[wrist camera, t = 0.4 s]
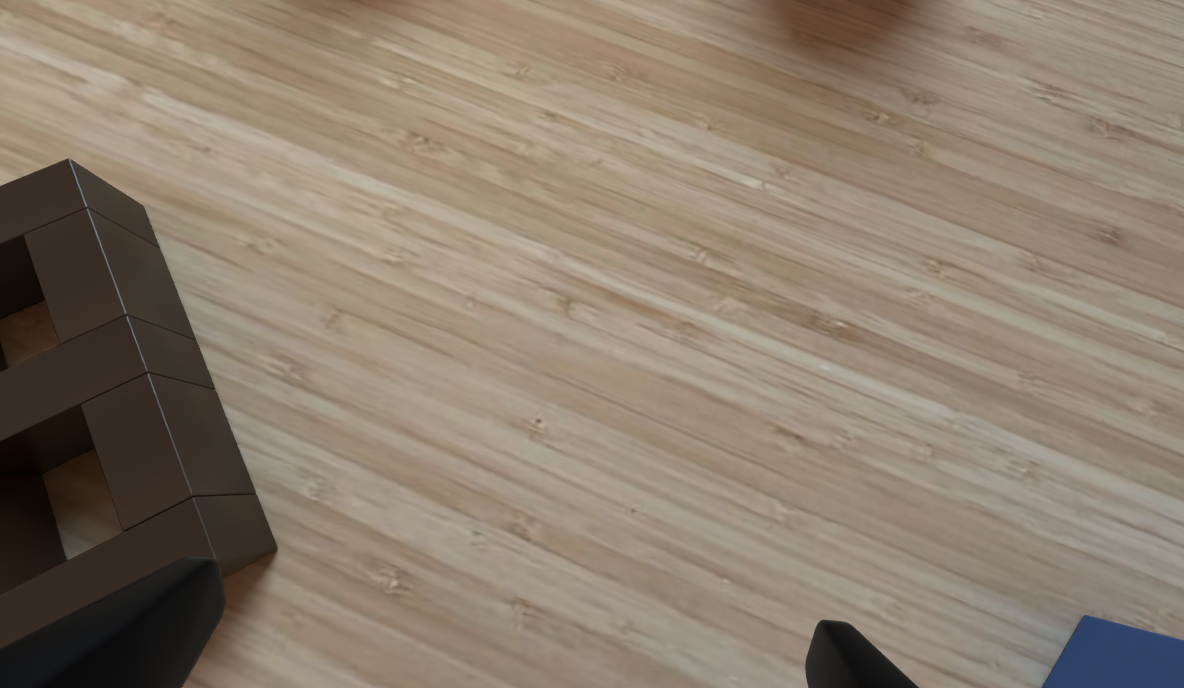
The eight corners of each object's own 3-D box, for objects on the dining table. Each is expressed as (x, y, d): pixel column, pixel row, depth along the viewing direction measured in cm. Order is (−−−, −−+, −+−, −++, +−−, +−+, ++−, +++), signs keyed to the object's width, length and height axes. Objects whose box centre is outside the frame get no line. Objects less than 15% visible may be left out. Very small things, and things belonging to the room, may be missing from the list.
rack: (279, 548, 20) (218, 562, 16) (29, 682, 19) (-94, 727, 15) (144, 205, 23) (69, 157, 19) (-79, 299, 22) (-201, 265, 18)
